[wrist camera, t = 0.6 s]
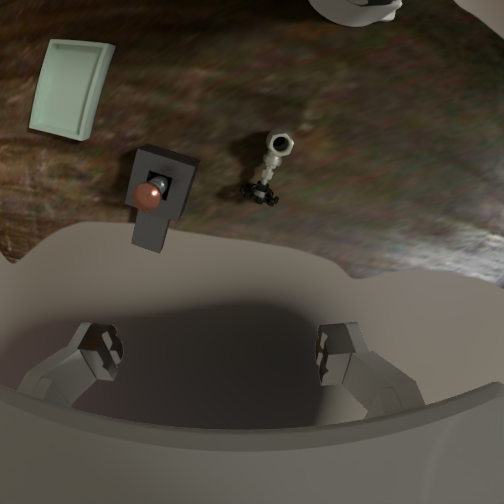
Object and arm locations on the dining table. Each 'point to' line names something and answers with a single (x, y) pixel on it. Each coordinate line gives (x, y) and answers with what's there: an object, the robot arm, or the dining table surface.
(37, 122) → the tray
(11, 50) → the dining table surface
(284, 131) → the valve
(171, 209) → the block
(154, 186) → the hitch pin
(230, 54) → the dining table surface
